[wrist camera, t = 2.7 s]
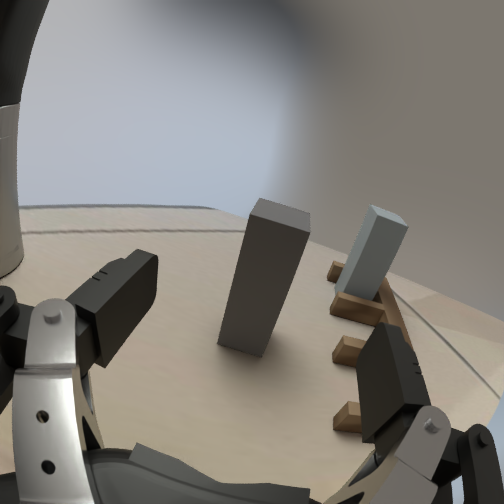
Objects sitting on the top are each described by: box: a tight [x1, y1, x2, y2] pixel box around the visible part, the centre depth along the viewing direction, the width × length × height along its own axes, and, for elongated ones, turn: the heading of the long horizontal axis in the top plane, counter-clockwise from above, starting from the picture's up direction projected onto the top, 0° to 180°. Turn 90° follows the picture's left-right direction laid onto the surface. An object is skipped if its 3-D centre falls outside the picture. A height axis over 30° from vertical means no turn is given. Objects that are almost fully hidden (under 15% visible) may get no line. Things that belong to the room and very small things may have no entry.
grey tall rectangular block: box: [217, 198, 310, 357], centre depth 23 cm, size 4×4×12 cm
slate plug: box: [335, 204, 408, 301], centre depth 32 cm, size 4×4×12 cm
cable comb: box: [327, 261, 419, 433], centre depth 28 cm, size 8×24×2 cm, turn 169°
